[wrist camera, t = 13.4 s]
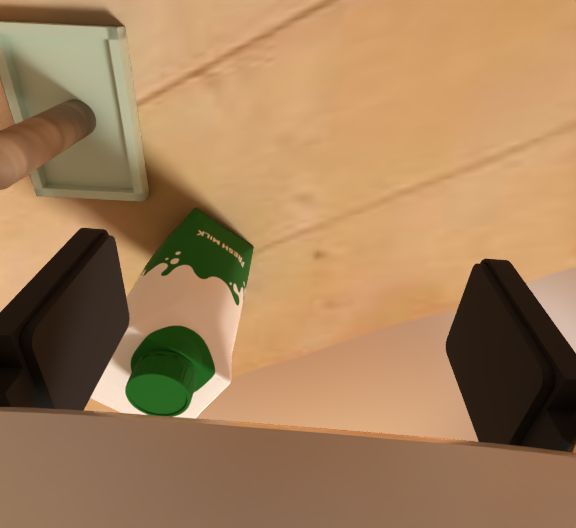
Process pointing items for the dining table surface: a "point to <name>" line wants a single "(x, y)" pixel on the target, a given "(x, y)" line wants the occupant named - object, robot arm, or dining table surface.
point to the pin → (42, 139)
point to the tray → (87, 88)
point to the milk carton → (180, 324)
